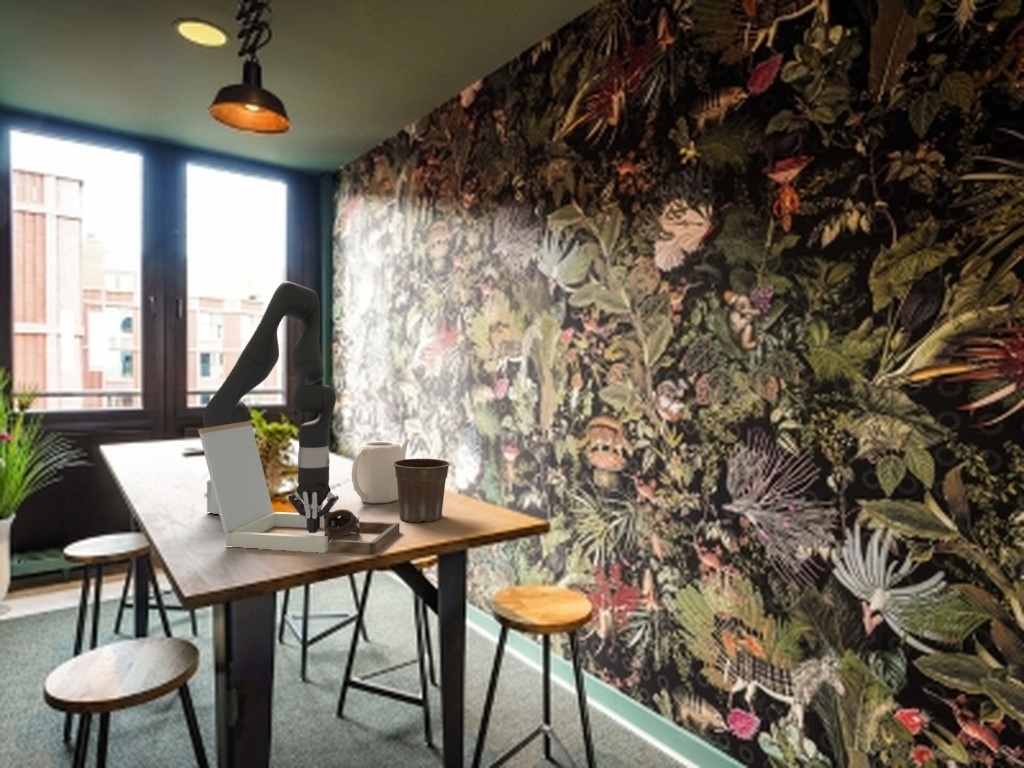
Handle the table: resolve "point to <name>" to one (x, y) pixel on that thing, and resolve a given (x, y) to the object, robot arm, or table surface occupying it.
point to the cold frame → (249, 493)
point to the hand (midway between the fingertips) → (313, 532)
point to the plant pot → (421, 488)
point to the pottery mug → (340, 524)
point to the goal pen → (366, 546)
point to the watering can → (377, 470)
